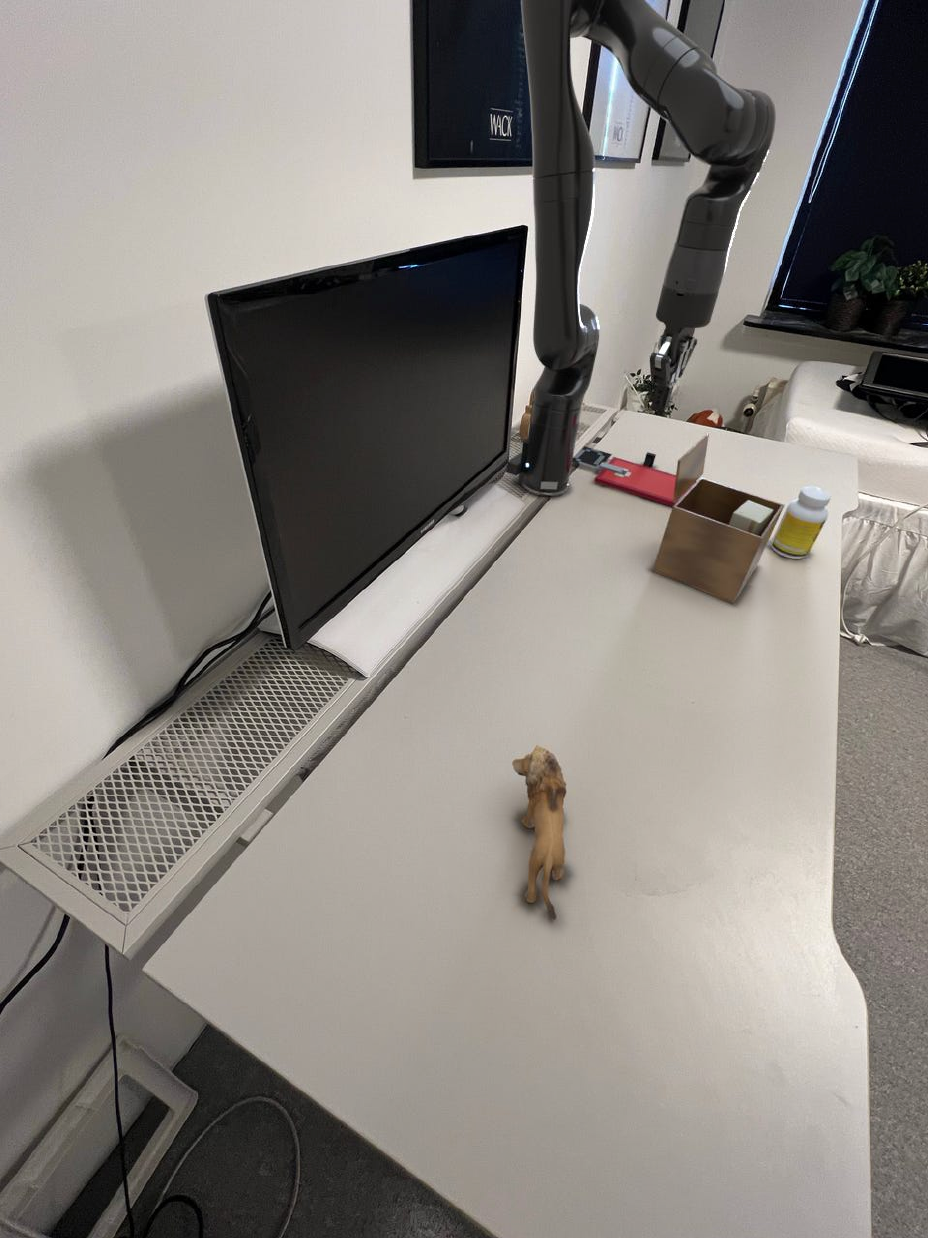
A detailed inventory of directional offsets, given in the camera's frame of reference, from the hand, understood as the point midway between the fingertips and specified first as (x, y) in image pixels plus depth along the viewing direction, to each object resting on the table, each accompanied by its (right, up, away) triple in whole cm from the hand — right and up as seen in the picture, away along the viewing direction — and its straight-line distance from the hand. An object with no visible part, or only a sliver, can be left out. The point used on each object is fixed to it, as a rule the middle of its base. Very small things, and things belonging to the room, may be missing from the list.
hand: (658, 408), depth 92 cm
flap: (+6, -9, +1) cm, 11 cm away
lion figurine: (-23, -57, -30) cm, 68 cm away
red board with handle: (+7, -3, +33) cm, 34 cm away
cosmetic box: (+14, -25, +8) cm, 30 cm away
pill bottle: (+28, -20, +15) cm, 38 cm away
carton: (+11, -24, +9) cm, 28 cm away
